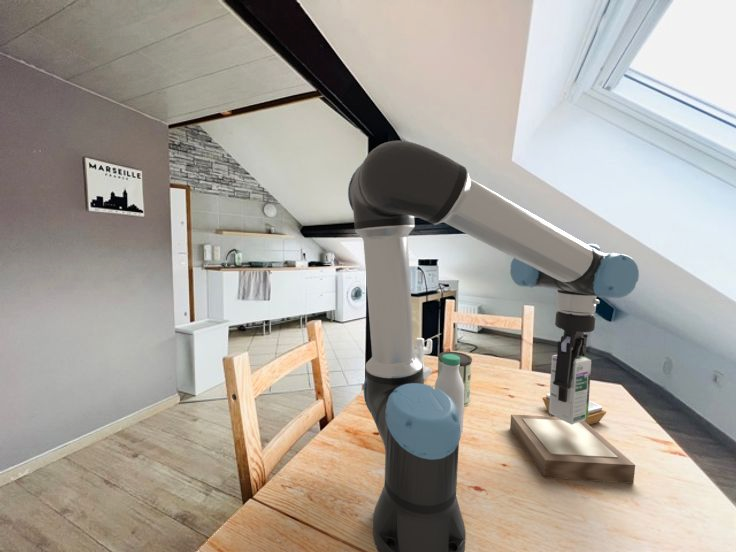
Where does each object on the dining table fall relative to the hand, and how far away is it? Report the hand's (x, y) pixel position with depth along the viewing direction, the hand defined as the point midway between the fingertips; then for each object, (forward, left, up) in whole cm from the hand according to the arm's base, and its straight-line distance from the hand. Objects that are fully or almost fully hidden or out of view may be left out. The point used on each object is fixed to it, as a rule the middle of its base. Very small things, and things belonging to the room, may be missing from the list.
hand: (567, 408), depth 73 cm
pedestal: (0, 0, -11) cm, 11 cm away
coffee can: (-21, +24, -11) cm, 34 cm away
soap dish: (+12, +18, -12) cm, 24 cm away
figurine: (-30, +40, -11) cm, 51 cm away
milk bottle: (-26, +7, -11) cm, 29 cm away
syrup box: (0, 0, -2) cm, 2 cm away
